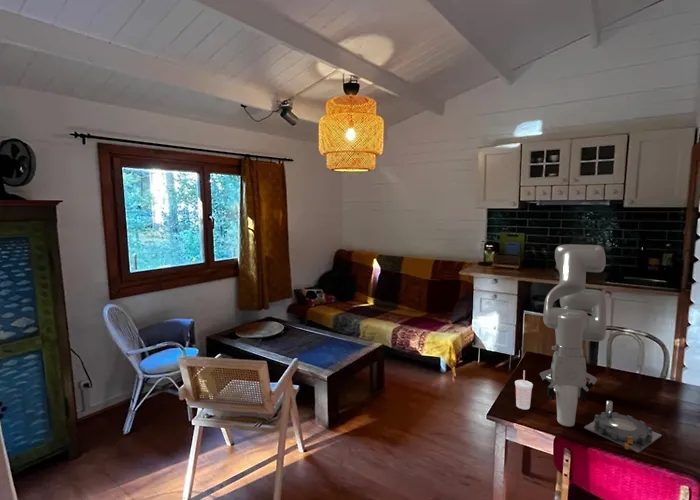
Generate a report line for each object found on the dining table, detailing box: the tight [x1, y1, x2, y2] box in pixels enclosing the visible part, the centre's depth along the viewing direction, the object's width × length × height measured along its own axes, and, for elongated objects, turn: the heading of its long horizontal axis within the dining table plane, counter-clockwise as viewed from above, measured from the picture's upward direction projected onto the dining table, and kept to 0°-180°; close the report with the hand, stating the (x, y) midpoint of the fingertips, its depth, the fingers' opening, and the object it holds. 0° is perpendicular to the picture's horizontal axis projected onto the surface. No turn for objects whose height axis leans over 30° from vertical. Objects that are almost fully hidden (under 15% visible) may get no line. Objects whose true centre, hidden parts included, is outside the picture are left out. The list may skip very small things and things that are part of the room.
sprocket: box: [593, 400, 653, 444], centre depth 129 cm, size 16×16×7 cm
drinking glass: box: [555, 384, 579, 427], centre depth 134 cm, size 7×7×15 cm
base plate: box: [583, 421, 663, 453], centre depth 128 cm, size 16×18×1 cm
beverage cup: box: [514, 369, 534, 410], centre depth 146 cm, size 6×6×14 cm
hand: (566, 399), depth 133 cm, fingers open, 9 cm apart
